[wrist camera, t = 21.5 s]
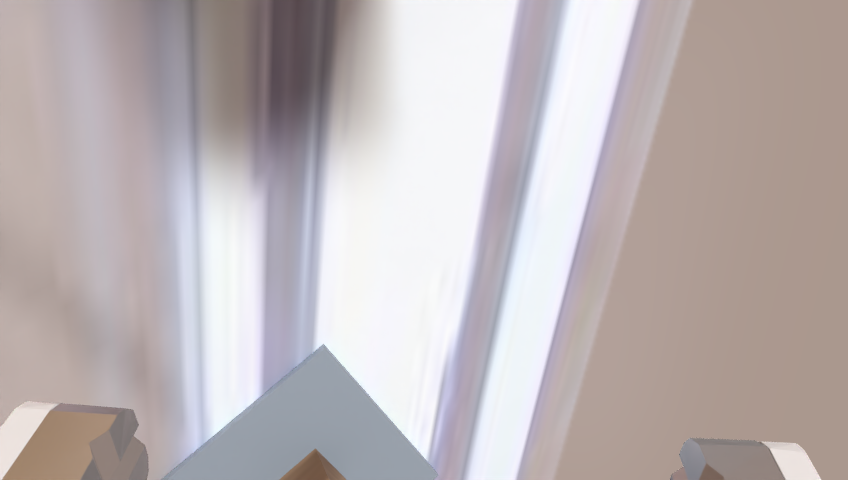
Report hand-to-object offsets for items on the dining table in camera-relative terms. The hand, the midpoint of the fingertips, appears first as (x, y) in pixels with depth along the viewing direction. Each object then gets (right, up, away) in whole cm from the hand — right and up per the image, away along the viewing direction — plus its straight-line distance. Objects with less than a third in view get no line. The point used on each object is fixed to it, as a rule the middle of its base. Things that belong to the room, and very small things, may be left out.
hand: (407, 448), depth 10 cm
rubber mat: (-9, -15, +40) cm, 43 cm away
